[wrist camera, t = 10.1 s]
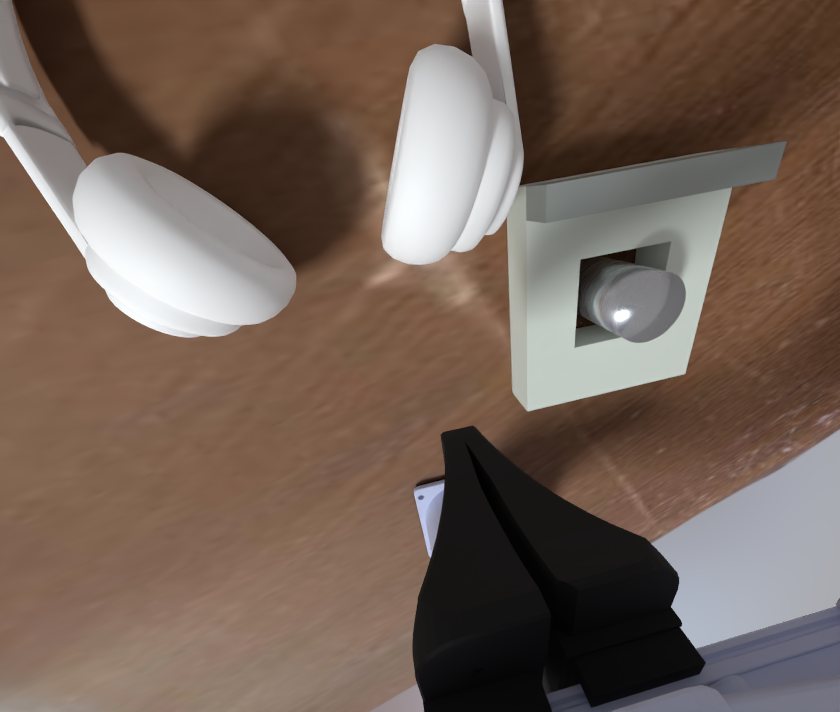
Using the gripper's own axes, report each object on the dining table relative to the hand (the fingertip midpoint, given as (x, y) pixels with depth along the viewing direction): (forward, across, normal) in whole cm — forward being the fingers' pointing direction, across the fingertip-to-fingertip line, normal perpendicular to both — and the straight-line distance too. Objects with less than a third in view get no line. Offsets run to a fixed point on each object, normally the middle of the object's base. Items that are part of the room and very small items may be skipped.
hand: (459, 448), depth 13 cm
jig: (+10, -12, -2) cm, 16 cm away
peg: (+10, -12, -2) cm, 16 cm away
